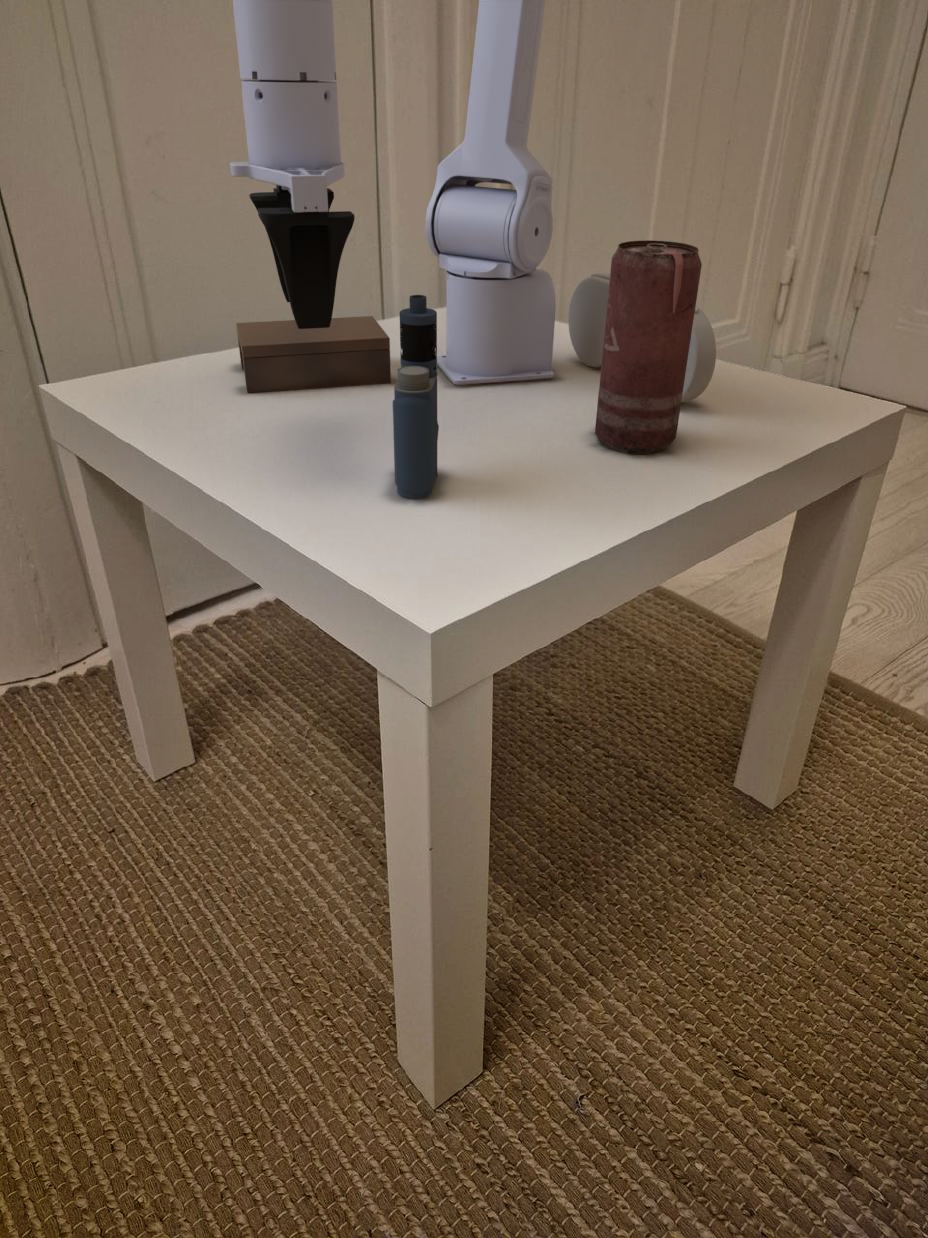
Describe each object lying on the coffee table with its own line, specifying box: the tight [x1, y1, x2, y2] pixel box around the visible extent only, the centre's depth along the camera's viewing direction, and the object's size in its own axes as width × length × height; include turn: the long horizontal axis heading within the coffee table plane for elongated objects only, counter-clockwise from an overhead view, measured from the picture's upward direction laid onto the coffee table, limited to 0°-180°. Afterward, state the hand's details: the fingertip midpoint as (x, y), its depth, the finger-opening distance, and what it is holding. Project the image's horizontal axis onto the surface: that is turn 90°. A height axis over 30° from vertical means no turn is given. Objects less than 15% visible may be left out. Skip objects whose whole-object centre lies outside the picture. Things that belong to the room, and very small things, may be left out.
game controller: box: [568, 272, 717, 403], centre depth 79 cm, size 20×2×8 cm, turn 26°
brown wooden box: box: [235, 315, 392, 394], centre depth 80 cm, size 13×8×4 cm, turn 106°
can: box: [594, 239, 703, 455], centre depth 64 cm, size 6×6×14 cm
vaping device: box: [392, 294, 440, 499], centre depth 57 cm, size 3×5×12 cm, turn 175°
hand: (306, 313), depth 61 cm, fingers open, 7 cm apart
